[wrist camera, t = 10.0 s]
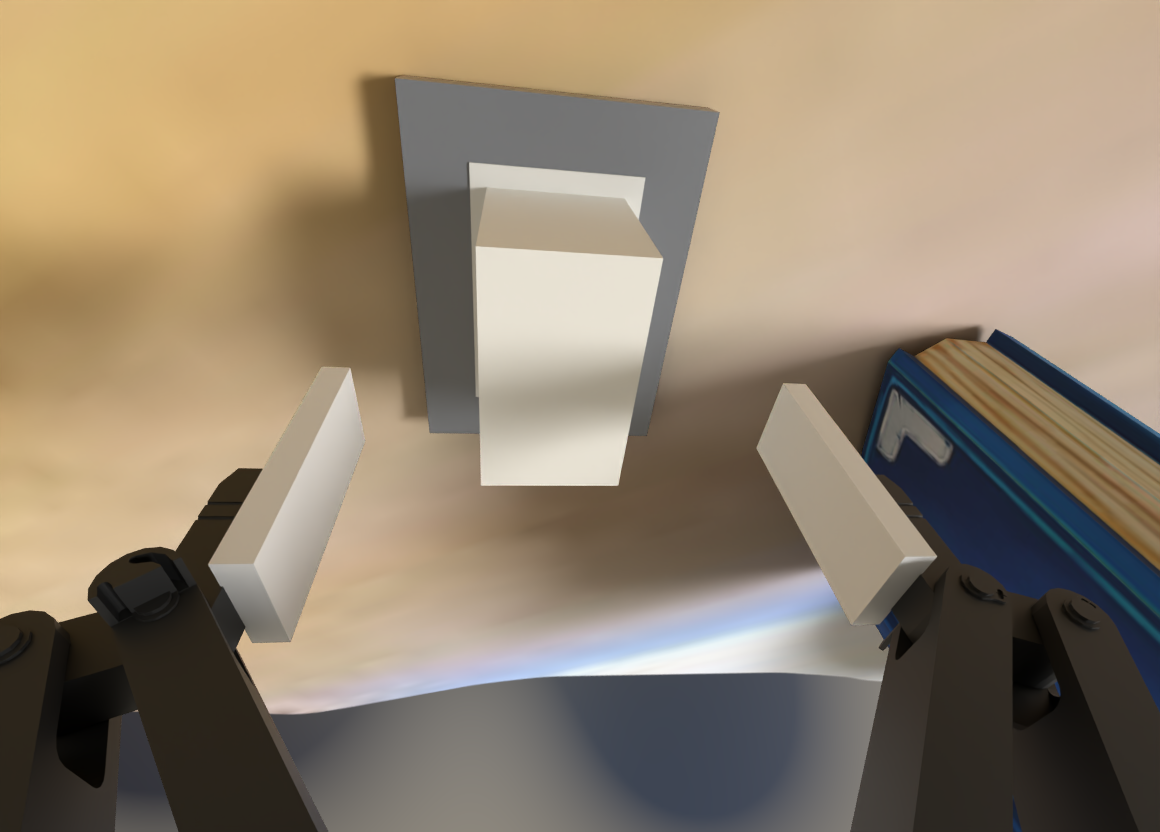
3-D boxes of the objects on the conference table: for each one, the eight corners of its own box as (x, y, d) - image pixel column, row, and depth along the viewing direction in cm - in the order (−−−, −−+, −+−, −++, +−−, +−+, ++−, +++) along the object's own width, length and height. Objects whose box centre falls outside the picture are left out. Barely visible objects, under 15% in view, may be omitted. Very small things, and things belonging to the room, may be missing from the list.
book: (913, 556, 42) (1274, 1033, 22) (828, 572, 42) (1109, 1059, 22) (1003, 321, 29) (2107, 979, 9) (878, 345, 29) (1683, 1047, 9)
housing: (486, 187, 20) (475, 246, 15) (624, 198, 21) (663, 258, 16) (488, 388, 26) (480, 485, 20) (597, 391, 27) (618, 485, 21)
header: (402, 75, 19) (372, 86, 15) (708, 107, 21) (753, 125, 17) (433, 416, 29) (419, 478, 25) (641, 420, 30) (660, 478, 26)
